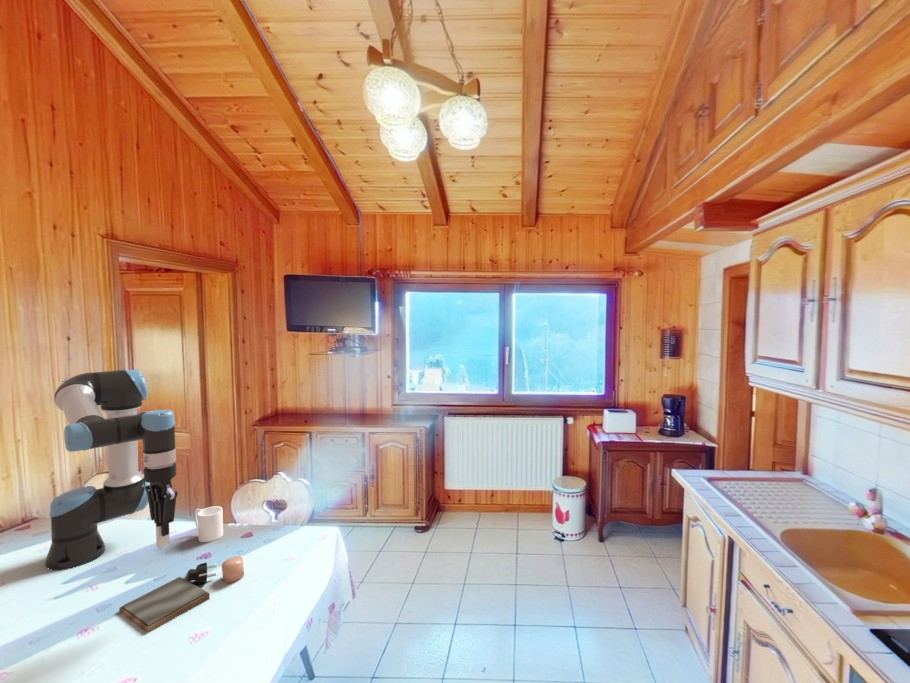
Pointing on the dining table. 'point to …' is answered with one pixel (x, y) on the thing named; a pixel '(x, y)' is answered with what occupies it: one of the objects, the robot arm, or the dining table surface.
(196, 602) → the stand
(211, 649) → the dining table surface
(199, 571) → the power plug
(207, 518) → the cup
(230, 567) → the peach rounded cylinder
